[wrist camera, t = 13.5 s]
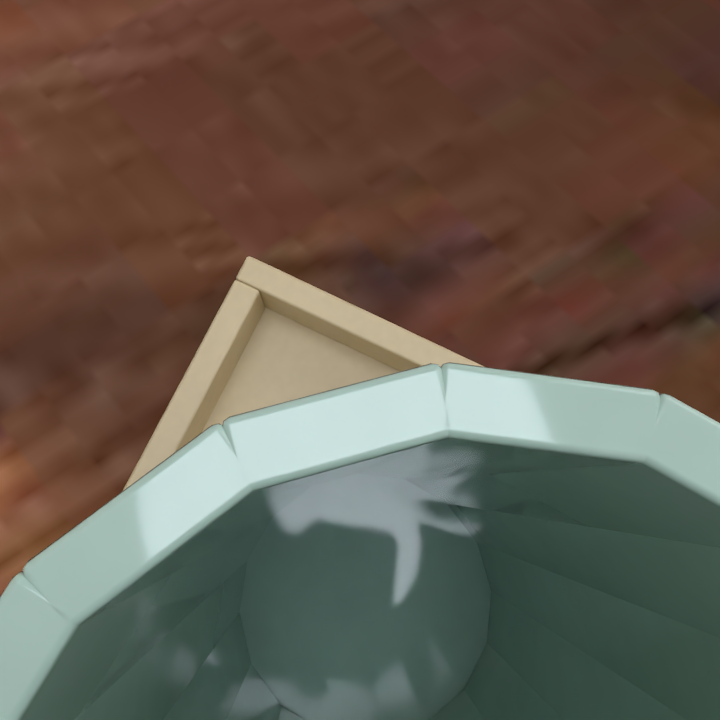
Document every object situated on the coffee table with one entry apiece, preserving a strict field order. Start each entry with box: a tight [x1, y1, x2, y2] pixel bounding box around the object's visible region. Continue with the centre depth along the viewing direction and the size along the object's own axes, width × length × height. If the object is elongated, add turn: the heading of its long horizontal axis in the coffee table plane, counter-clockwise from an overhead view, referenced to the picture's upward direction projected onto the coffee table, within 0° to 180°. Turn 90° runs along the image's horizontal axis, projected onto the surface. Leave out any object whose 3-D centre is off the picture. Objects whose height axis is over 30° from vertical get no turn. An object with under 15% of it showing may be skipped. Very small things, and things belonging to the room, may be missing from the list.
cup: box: [0, 362, 720, 720], centre depth 10 cm, size 7×7×13 cm
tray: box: [123, 256, 484, 490], centre depth 19 cm, size 14×14×3 cm
